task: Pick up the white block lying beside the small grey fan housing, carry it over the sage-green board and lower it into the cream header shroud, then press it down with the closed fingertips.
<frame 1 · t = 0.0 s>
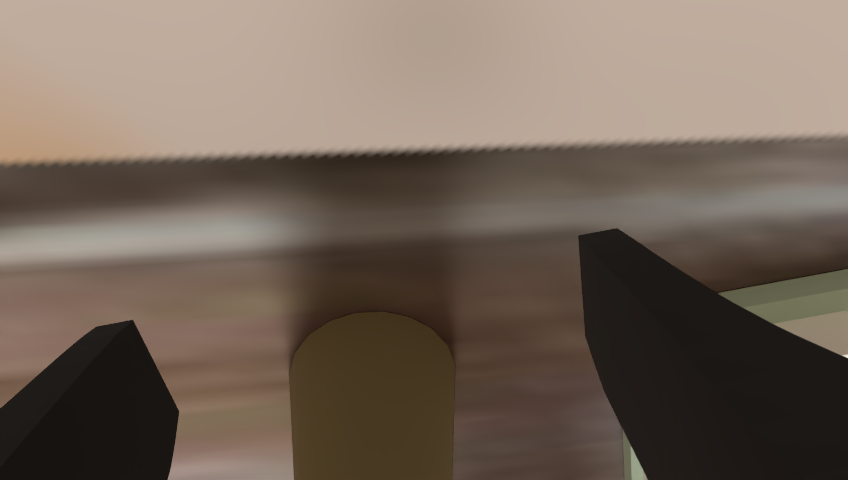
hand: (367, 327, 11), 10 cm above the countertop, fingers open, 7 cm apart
dark olive bottle: (373, 374, 25), on the countertop
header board: (773, 403, 27), on the countertop
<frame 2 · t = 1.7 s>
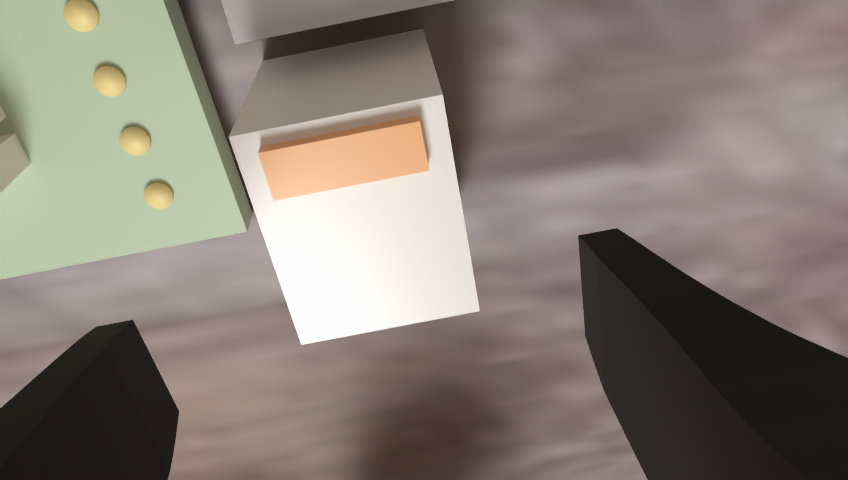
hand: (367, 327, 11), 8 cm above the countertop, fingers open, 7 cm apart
white block: (365, 137, 18), on the countertop
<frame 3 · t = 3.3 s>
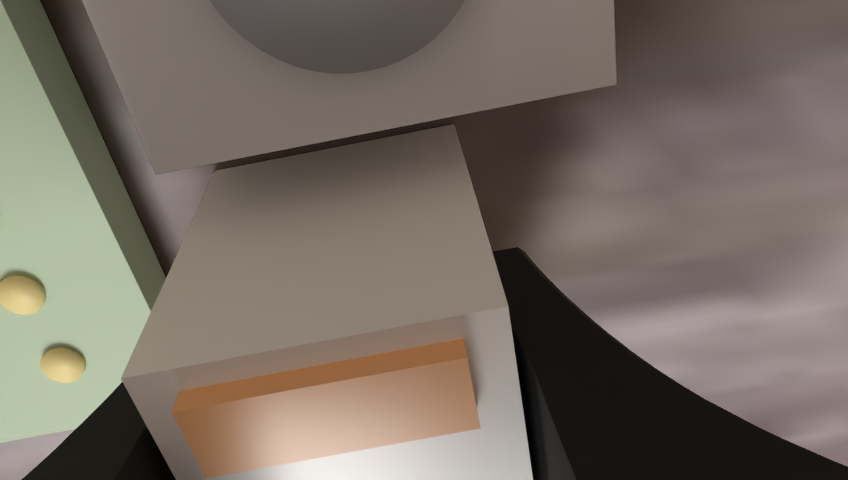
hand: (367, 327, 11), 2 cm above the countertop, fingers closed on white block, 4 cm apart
white block: (367, 272, 12), on the countertop, touching gripper
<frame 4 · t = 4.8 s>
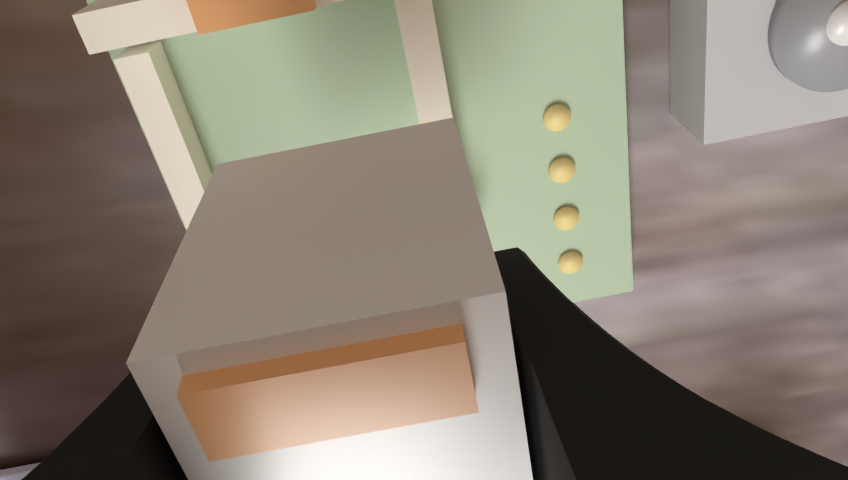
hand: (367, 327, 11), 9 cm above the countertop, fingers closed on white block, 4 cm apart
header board: (394, 135, 19), on the countertop
white block: (367, 265, 13), point 7 cm above the countertop, touching gripper
when the fingers open (3 cm above the countertop, at t = 6.4 s): white block stays where it is, resting on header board.
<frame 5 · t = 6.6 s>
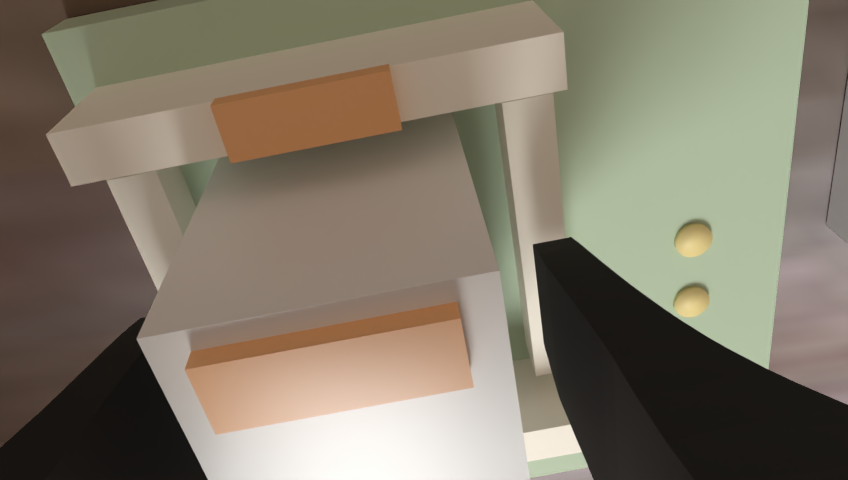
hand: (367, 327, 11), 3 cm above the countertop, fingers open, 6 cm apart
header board: (472, 252, 14), on the countertop
white block: (367, 253, 13), point 1 cm above the countertop, touching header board
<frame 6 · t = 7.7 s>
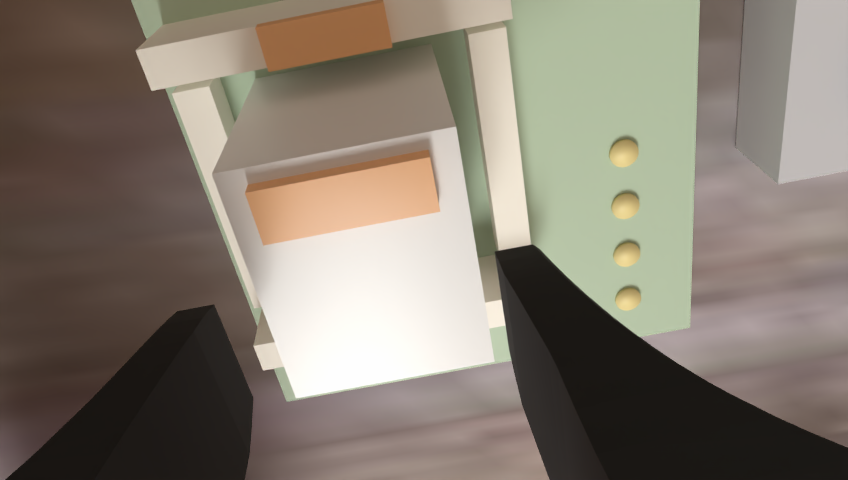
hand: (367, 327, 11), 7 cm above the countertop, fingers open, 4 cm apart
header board: (451, 167, 18), on the countertop
white block: (367, 162, 17), point 1 cm above the countertop, touching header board
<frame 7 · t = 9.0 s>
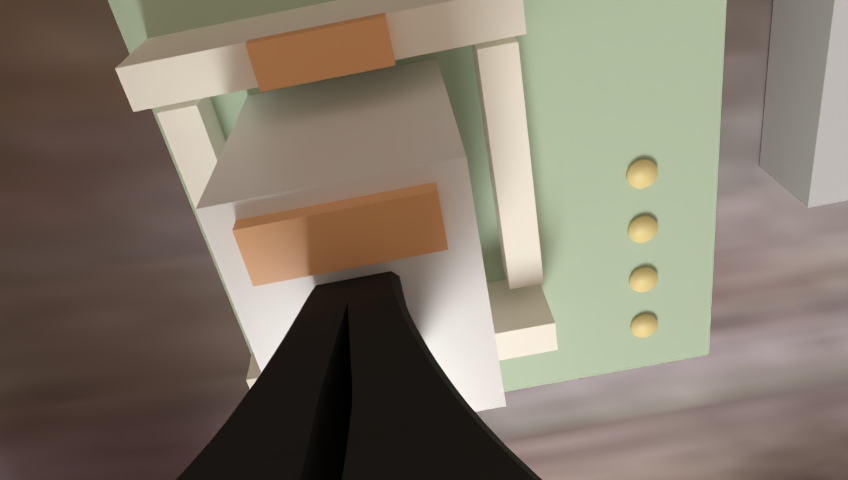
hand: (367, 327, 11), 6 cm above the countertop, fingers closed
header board: (457, 187, 17), on the countertop
white block: (368, 183, 15), point 1 cm above the countertop, touching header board
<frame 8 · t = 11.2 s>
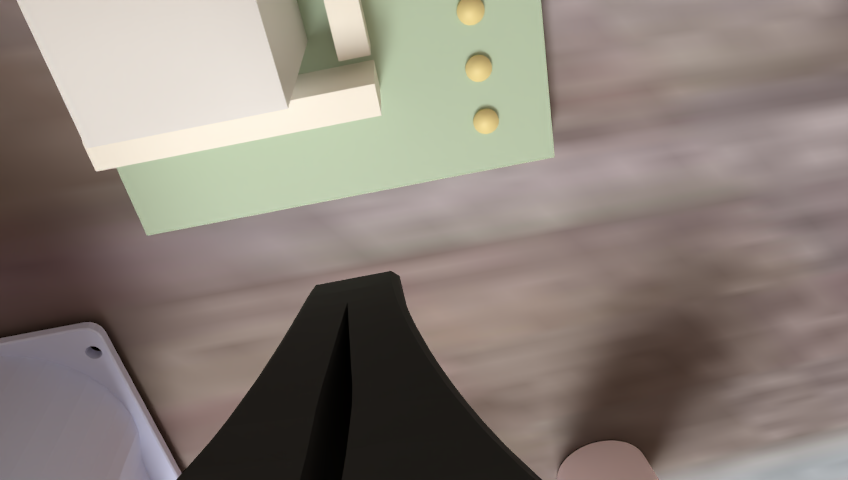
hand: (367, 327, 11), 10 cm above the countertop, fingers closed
smoothie: (600, 468, 28), on the countertop
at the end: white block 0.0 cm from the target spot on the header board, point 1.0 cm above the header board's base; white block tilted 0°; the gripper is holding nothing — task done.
